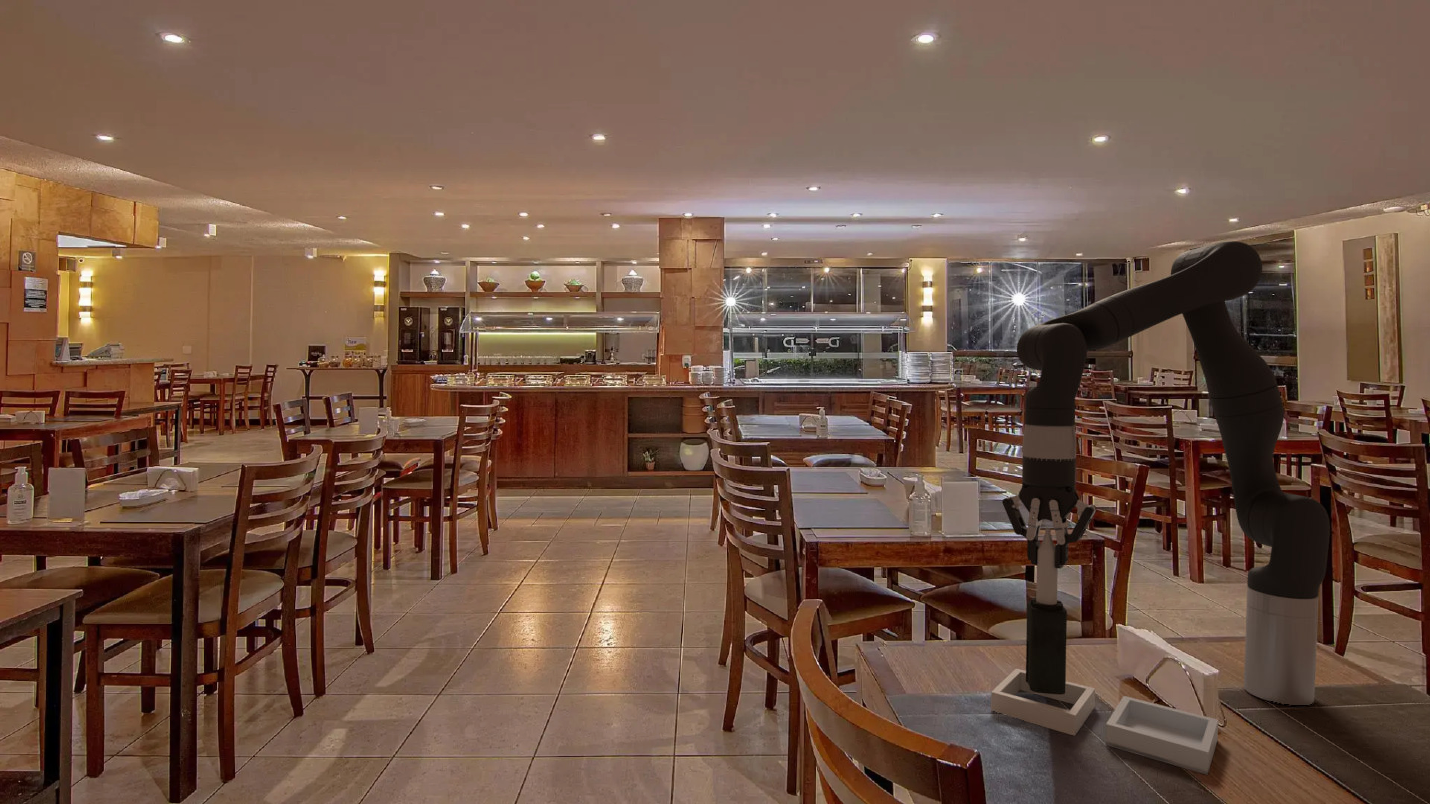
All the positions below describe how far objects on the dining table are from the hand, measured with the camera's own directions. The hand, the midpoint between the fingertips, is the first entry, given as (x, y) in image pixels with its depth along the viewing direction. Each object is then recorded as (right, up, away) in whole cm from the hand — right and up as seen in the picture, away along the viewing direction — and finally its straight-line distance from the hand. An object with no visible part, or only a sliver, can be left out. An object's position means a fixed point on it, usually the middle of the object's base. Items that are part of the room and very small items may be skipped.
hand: (1047, 565), depth 113 cm
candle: (0, -19, +1) cm, 19 cm away
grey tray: (+12, -23, -9) cm, 28 cm away
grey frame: (0, -23, +1) cm, 23 cm away
